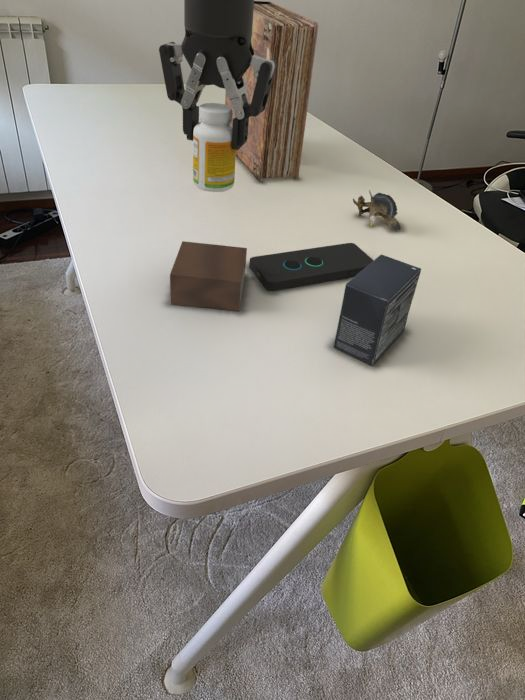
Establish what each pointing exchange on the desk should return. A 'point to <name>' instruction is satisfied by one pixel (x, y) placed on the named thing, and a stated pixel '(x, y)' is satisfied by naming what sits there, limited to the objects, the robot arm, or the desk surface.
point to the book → (279, 92)
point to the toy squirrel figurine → (379, 209)
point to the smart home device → (309, 266)
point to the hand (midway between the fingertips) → (214, 142)
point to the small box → (375, 308)
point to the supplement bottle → (213, 149)
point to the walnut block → (208, 276)
